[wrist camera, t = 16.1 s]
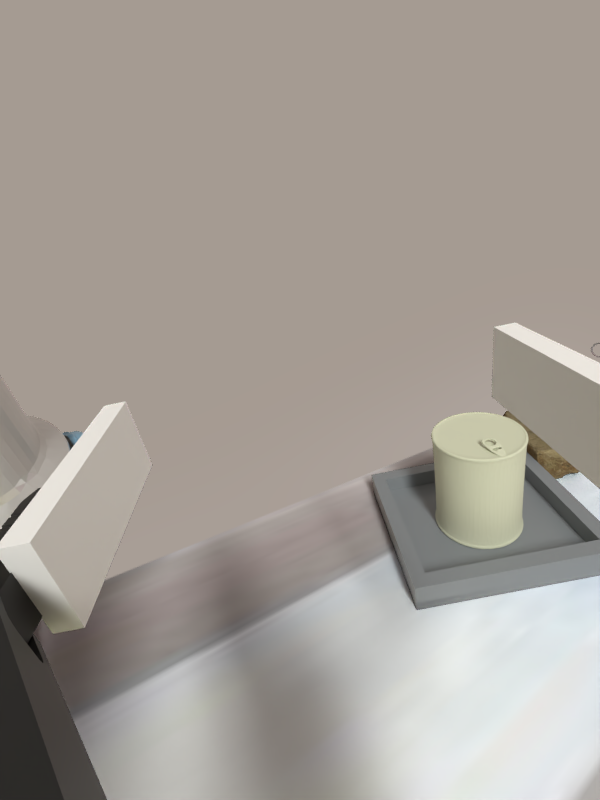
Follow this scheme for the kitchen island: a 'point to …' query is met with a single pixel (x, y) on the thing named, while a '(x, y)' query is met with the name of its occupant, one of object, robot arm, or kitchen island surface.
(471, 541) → the can
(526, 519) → the tray
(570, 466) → the stone block
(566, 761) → the kitchen island surface
